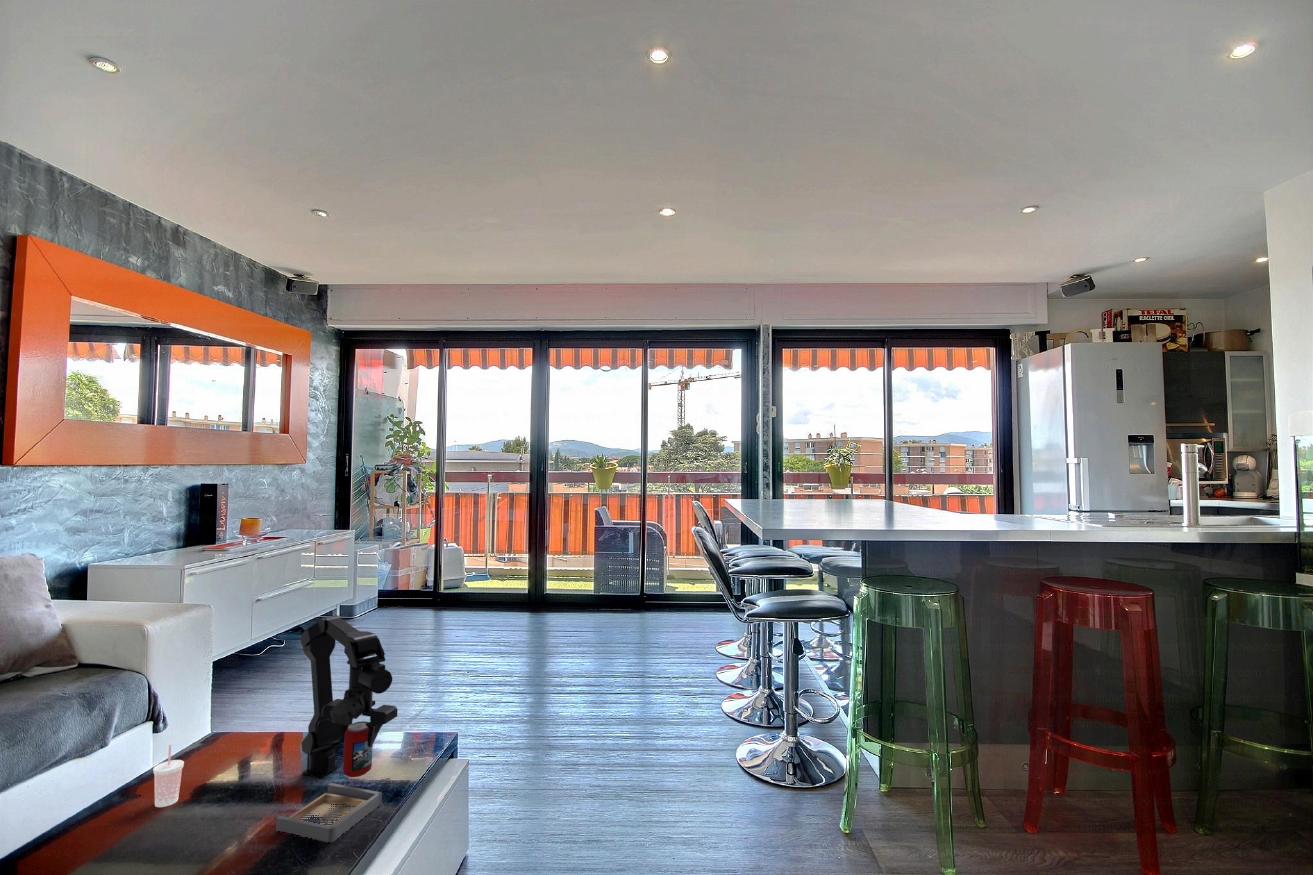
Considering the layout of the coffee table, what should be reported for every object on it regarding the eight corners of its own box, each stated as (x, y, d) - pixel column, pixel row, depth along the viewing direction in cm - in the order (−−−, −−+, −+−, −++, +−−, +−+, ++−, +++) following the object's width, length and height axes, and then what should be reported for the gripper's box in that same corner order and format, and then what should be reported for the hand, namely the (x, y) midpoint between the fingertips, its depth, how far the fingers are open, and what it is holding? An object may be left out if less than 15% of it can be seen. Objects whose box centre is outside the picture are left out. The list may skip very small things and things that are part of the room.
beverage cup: (186, 799, 155) (190, 743, 156) (158, 811, 150) (161, 753, 151) (174, 793, 158) (177, 737, 159) (146, 804, 153) (149, 747, 153)
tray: (284, 828, 145) (285, 819, 145) (325, 800, 157) (325, 792, 158) (329, 837, 142) (329, 828, 142) (367, 808, 154) (367, 800, 154)
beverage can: (360, 780, 155) (362, 732, 156) (336, 777, 157) (338, 729, 157) (377, 767, 162) (379, 721, 163) (354, 764, 163) (356, 719, 164)
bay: (276, 831, 143) (276, 817, 144) (330, 794, 160) (330, 782, 160) (331, 843, 140) (332, 829, 140) (381, 804, 156) (381, 792, 156)
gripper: (306, 691, 155) (303, 754, 154) (371, 698, 150) (368, 764, 150) (338, 676, 165) (336, 735, 165) (399, 683, 161) (397, 744, 161)
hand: (358, 744), depth 160 cm, fingers closed on beverage can, 7 cm apart
